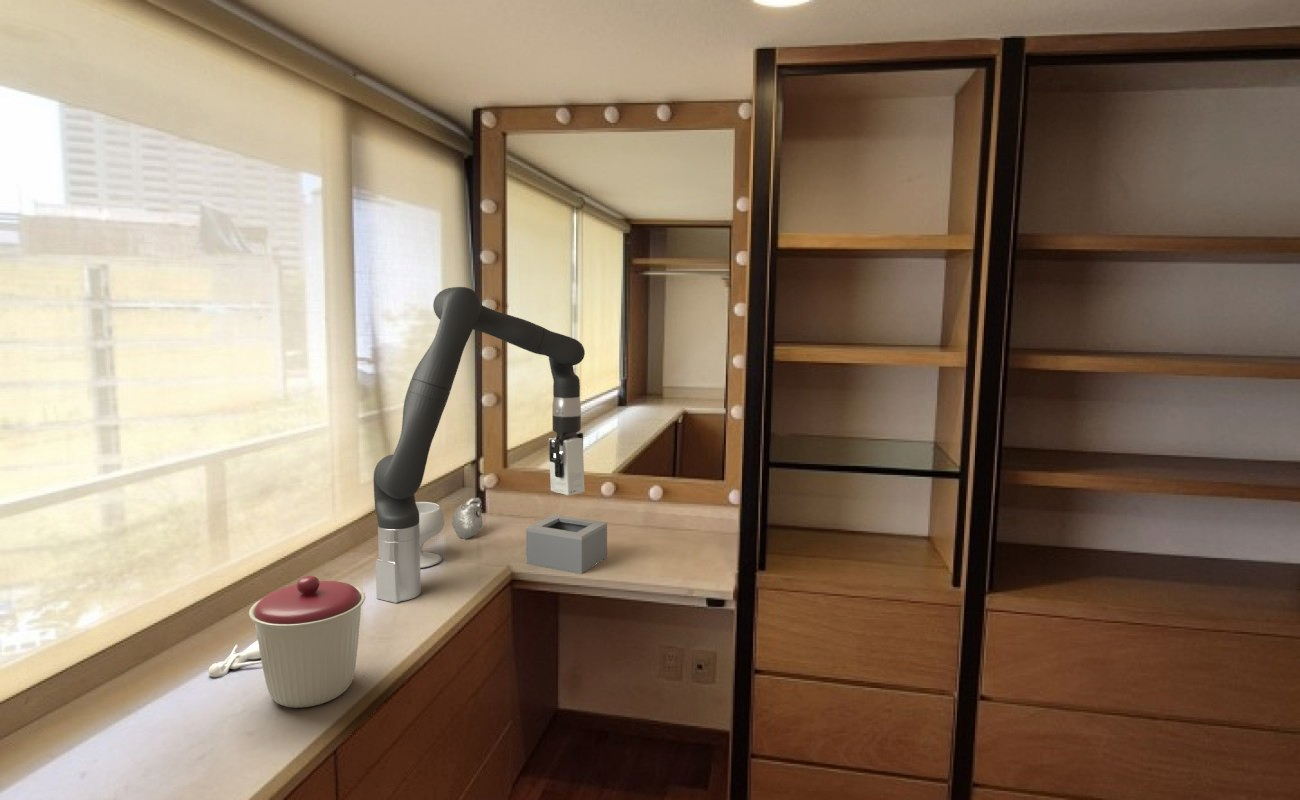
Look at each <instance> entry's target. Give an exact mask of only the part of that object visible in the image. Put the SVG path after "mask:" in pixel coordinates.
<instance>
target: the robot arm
mask: <svg viewBox="0 0 1300 800" xmlns="http://www.w3.org/2000/svg"><path fill="white" fill-rule="evenodd" d="M434 297H435V298H434V299H433V305H432V307H433V312H434V314H435V316H436V317H437V318H438V319H439V323H438V327H437V330H436V334H435V336H434V337H433V341H432V343H431V345H430V346H429V348H428V349H427V350H426V352H425V354H424V355H423V356H422V358H421V359H420V361H419V362H418V365H416V368H415V369H414V372H413V374H412V376H411V378H410V382H409V385H408V388H407V389H406V390H407V391H406V394H405V397H404V402H403V410H402V421H401V423H402V424H401V431H400V437H399V439H398V443H397V444H396V448H395V449H394V452H393V454H389V455H385V457H382V458H381V459H380V460H379V461H378V463H376V466H375V468H374V471H373V497H374V499H373V500H374V509H375V514H376V518H377V519H376V520H377V538H378V539H377V544H378V547H377V548H378V558H376V559H375V582H376V584H375V585H376V599H377V600H378V599H379V600H383V601H387V602H391V603H394V604H397V603H399V602H404V601H408V600H412V599H415V598H416V597H419V596H420V595H421V592H422V585H421V584H422V578H421V568H420V528H419V511H418V508H417V506H416V502H417V501H416V498H415V494H416V493H417V492H418V490H419V489H420V487H421V486H422V482H423V478H424V476H425V475H424V474H425V470H426V466H427V462H428V457H429V453H430V451H431V446H432V443H433V440H434V438H435V435H436V433H437V430H438V426H439V425H440V421H441V418H442V416H443V412H444V411H445V408H446V405H447V403H448V401H449V398H450V397H449V396H450V393H451V391H452V387H453V384H454V381H455V378H456V374H457V372H458V369H459V366H460V363H461V359H462V356H463V354H464V350H465V347H466V345H467V343H468V341H469V339H470V337H471V334H472V332H473V330H474V331H478V332H480V333H483V334H486V335H489V336H491V337H494V338H497V339H499V340H501V341H504V342H506V343H509V344H511V345H513V346H515V347H518V348H520V349H523V350H525V351H528V352H531V353H533V354H536V355H540V356H541V355H542V356H545V357H548V362H549V367H550V372H551V375H552V380H553V385H552V386H553V387H552V391H553V393H552V395H553V398H552V405H551V406H552V407H551V408H552V412H551V413H552V415H551V416H552V418H551V419H552V431H553V432H554V433H556V436H555V437H556V439H555V440H553V439H550V440H549V439H548V449H549V450H548V455H549V456H548V457H549V463H550V462H554V463H555V477H559V478H561V477H563V476H564V471H563V462H564V452H561V451H560V443H561V446H562V445H563V441H564V440H566V439H569V438H573V437H576V438H583V439H584V433H583V432H580V431H581V429H582V421H581V420H582V417H581V415H582V403H581V382H580V377H579V376H578V375H577V374H576V373H575V369H574V366H576V365H579V364H580V363H581V362H582V361H583V360H584V358H585V354H586V353H585V351H586V350H585V347H584V345H583V344H582V343H581V341H579V340H578V339H576V338H573V337H570V336H568V335H565V334H561V333H558V332H555V331H551V330H550V329H547V328H545V327H543V326H541V325H539V324H536V323H534V322H531V321H528V320H526V319H523V318H521V317H517V316H514V315H511V314H506V313H503V312H500V311H498V310H497V311H496V310H494V309H492V308H489V307H487V306H485V305H483V304H481V300H480V296H479V295H478V294H477V292H476V291H475V290H474V289H473V288H472V289H471V288H470V287H467V286H453V287H448V288H444V289H443V290H441V291H439V293H437V294H436V296H434ZM553 453H555V456H554V457H553ZM560 455H561V458H560Z"/></svg>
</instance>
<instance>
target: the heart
mask: <svg viewBox="0 0 1300 800" xmlns="http://www.w3.org/2000/svg"><path fill="white" fill-rule="evenodd" d="M482 502H483V501H482V500H481V498H480V497H471V498H469V499H467V500H466V501H465V503H462V504H460V505H459V506H458V507H457V508H456V509H455V511H454V512H453V515H452V521H451V525H452V528H453V530H454V532H455V533H456V535H457V536H458V537H460V538H461V539H463V540H467V539H470V538H471V537H473V536H475V535H476V534H478V532H479V531H480V530H481V529H482V527H483V516H482V514H483V513H482V512H483V509H482V507H483V505H482Z"/></svg>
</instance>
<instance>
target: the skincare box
mask: <svg viewBox="0 0 1300 800" xmlns="http://www.w3.org/2000/svg"><path fill="white" fill-rule="evenodd" d="M550 439H553V440H555V439H556V436H555V437H550V438H548V441H549V440H550ZM560 451H561V452H564V462H563V471H564V476H563V477H561V478H559V477H555V463H554V462H550V461H549V476H550V478H549V479H550V482H549V483H550V491H551V492H555V493H558V494H561V495H564V496H572V495H579V494H584V493H585V492H586V488H585V468H584V467H585V465H584V462H585V461H584V437H583V438H576V437H573V438H569V439H566V440H564V441H563V445H562V446H561V443H560ZM554 456H555V453H553V457H554ZM560 458H561V455H560Z"/></svg>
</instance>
